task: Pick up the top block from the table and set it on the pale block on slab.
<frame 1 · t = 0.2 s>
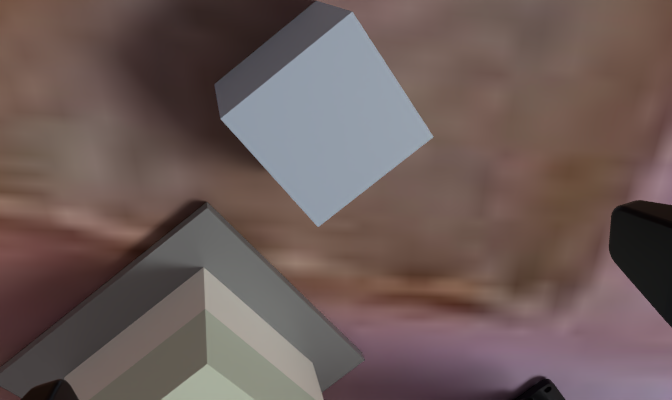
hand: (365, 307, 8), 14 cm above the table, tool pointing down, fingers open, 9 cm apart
top block: (303, 93, 20), on the table
pale block on slab: (197, 360, 24), on the table
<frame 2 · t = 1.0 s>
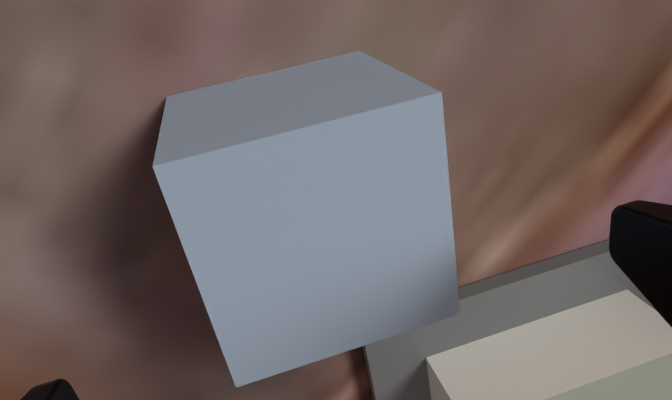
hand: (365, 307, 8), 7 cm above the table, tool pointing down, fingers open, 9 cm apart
top block: (287, 162, 14), on the table
pale block on slab: (521, 388, 20), on the table
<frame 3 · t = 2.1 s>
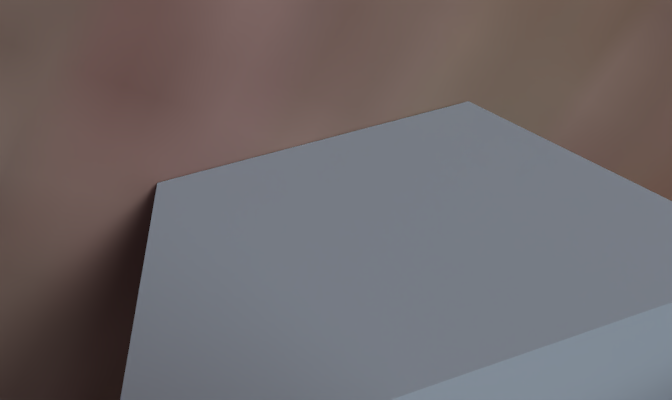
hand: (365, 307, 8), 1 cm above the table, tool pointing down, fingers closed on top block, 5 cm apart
top block: (347, 271, 9), on the table, touching gripper
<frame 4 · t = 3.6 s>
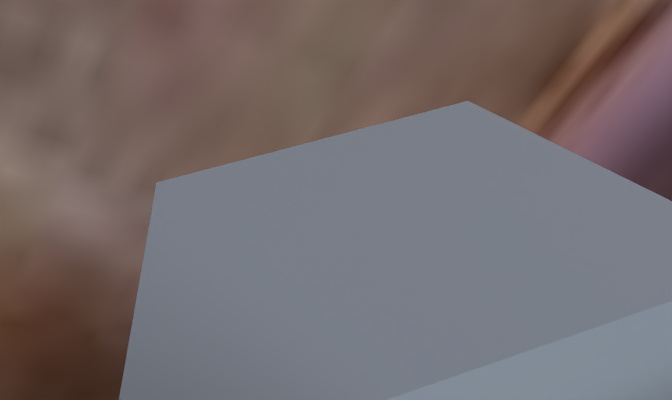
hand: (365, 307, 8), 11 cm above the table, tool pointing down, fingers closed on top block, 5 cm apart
top block: (346, 271, 9), point 10 cm above the table, touching gripper
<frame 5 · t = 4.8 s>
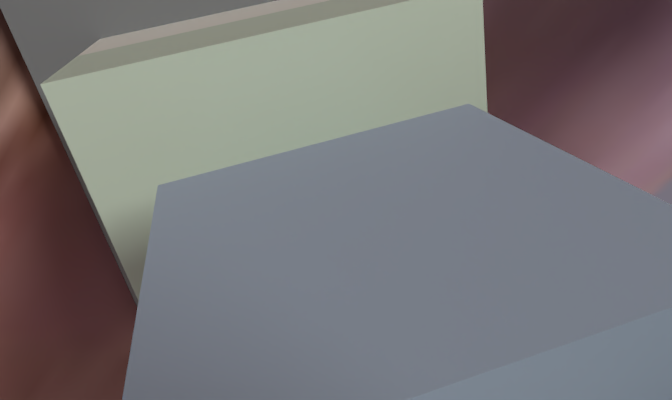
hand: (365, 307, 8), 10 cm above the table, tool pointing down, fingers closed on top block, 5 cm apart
top block: (347, 273, 9), point 9 cm above the table, touching gripper
pale block on slab: (274, 133, 16), on the table
when the fingers open (8 cm above the table, at t = 5.4 s): top block stays where it is, resting on pale block on slab.
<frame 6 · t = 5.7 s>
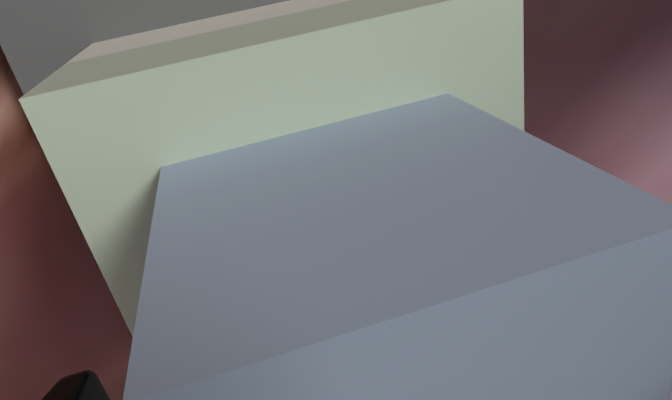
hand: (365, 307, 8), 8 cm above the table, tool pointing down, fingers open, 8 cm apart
top block: (336, 251, 10), point 7 cm above the table, touching pale block on slab
pale block on slab: (282, 144, 15), on the table
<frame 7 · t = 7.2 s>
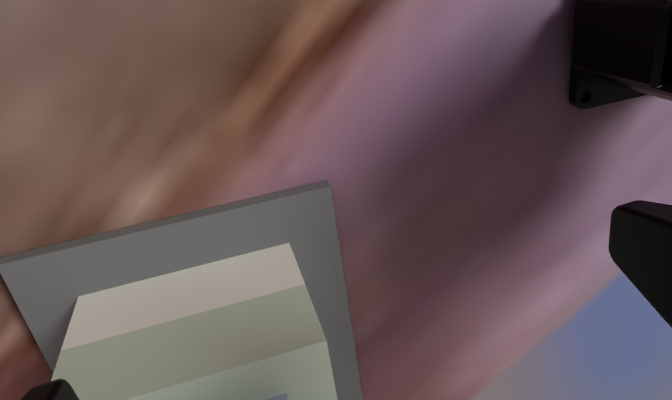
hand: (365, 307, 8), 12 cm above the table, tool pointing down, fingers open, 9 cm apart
pale block on slab: (212, 338, 22), on the table
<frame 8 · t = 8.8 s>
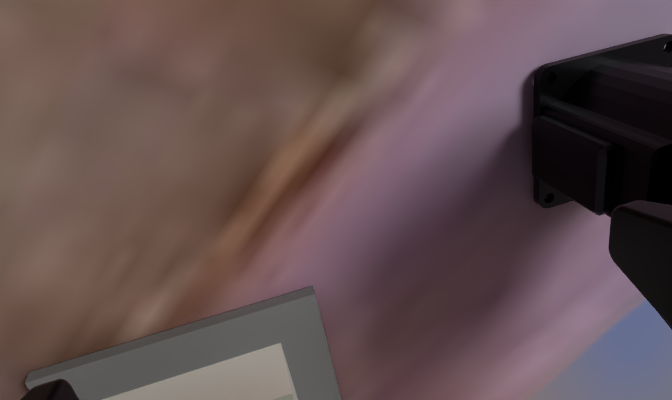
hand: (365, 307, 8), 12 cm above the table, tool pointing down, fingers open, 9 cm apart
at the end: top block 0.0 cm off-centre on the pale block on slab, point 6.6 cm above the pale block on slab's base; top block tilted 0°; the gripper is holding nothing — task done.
